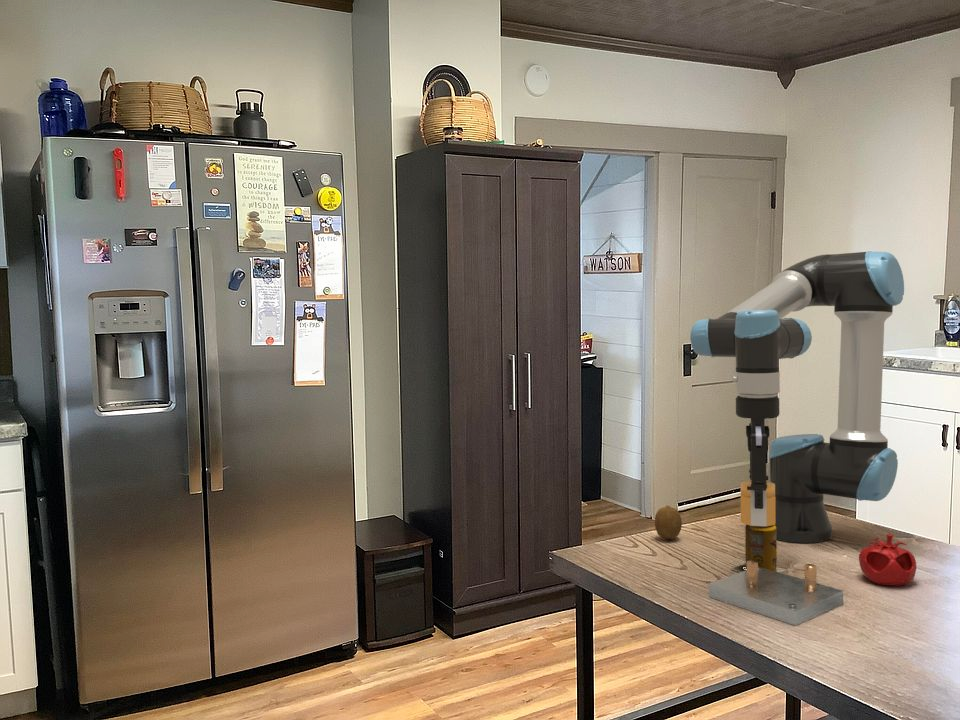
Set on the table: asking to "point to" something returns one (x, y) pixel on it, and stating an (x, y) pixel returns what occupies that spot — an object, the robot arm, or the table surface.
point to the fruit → (668, 522)
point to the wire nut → (747, 503)
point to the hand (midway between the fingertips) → (758, 520)
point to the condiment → (760, 547)
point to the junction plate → (777, 593)
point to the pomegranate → (887, 563)
